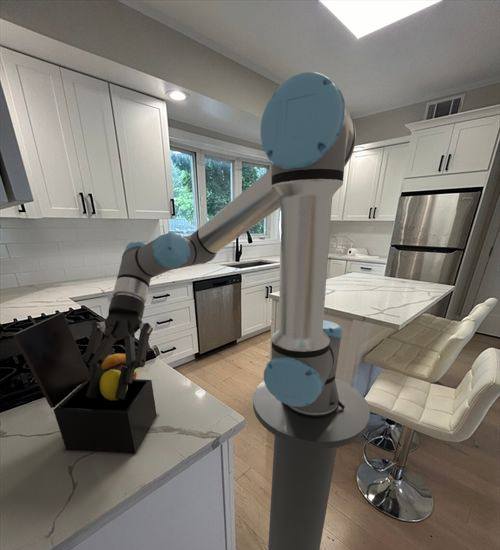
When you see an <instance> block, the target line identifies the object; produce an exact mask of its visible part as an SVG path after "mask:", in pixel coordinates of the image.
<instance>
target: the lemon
mask: <svg viewBox="0 0 500 550" xmlns="http://www.w3.org/2000/svg"><path fill="white" fill-rule="evenodd" d="M120 373H121V372H120V371H118V370H112V369H110V370H109V371H107V372H105V373H104V374H103V375H102V377H101V379H100V391H101V393H102V395H103V396H104V397H105V398H106V399H108V400H111V401H118V400H119V399H117V398H115V395H116V391H117V387H118V382H119V378H120ZM127 389H128V386H127ZM126 392H127V391H126Z"/></svg>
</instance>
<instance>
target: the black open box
mask: <svg viewBox="0 0 500 550" xmlns="http://www.w3.org/2000/svg"><path fill="white" fill-rule="evenodd" d="M89 383H90V382H89V381H87V379H86V380H85V381H84V382H83V383H81V384H80V385H79V386H78V387H77V388H76V389H75V390H74V391H72V392H71V393H70V394H69V395H68V396H67V397H66V398H65V399H63V400H62V401H61V402H60V403H59V404H58V405H57V406H55V407H54V408H53V413H54V416H55V420H56V422H57V426H58V429H59V432H60V434H61V438H62V441H63V444H64V448H65V450H66V451H80V452H81V451H83V452H97V453H98V452H101V453H116V454H117V453H119V454H136V453H137V451H138V450H139V448H140V446H141V444H142V443H143V441H144V439H145V438H146V435H147V434H148V432H149V430H150V428H151V427H152V425H153V423H154V421H155V420H156V417H157V416H158V414H157V407H156V402H155V401H156V400H155V395H154V388H153V387H154V386H153V381H152V379H140V378H135V379H133V381H132V383H131V384H128V389H127V392H126V395H125V400H120V399H119V400H118V401H111V400H108V399H106V398H105V397H104V396H103V395H102V393H101V391H100V387H99V391H98V395H97V399H93V398H89V397H86V394H87V390H88V386H89Z"/></svg>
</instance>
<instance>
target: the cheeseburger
mask: <svg viewBox="0 0 500 550" xmlns="http://www.w3.org/2000/svg"><path fill="white" fill-rule="evenodd" d="M125 364H126V355H125V353H113V354H110V355H109V354H108V355H107V357H106V359H105V360H104V362H103V364H102V366H101V367H102V369H104V371H103V374H104V373H105V372H107V371H109V370H110V369H112V370H118V371H120V372H121V369H122V367H126V368H127V366H125ZM137 373H138V368H136V369H135V371H134V376H133V379H137Z"/></svg>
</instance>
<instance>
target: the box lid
mask: <svg viewBox="0 0 500 550" xmlns="http://www.w3.org/2000/svg"><path fill="white" fill-rule="evenodd" d="M12 337H13V339H14V341H15V343H16V345H17V347H18V349H19V350H20V353H21V354H22V356H23V358H24V360H25V362H26V363H27V366H28V367H29V369H30V371H31V373H32V375H33V377H34V379H35V381H36V383H37V385H38V387H39V388H40V390H41V393H42V394H43V396H44V398H45V400H46V401H47V403H48V405H49V407H50V408H51V409H55V408H56V407H57V406H58V405H59V404H60V403H61V402H63V401H64V400H65V399H66V398H67V397H68V396H69V395H70V394H72V393H73V392H74V391H75V390H76V389H77V388H78V387H79V386H81V385H82V384H83V383H84V382H85V381H86V380H87V377H88V374H89V368H88V367H87V364H86V363H84V362H83V357H84V356H83V355H82V353H81V351H80V348H79V346H78V344H77V341H76V339H75V337H74V334H73V332H72V331H71V328H70V326H69V323H68V321H67V319H66V316H65V313H64V312H60V313H57V314H55V315H53V316H50V317H49V318H48V317H47V318H46V319H44V320H42V321H39V322H37V323H35V324H33V325H31V326H28V327H26V328H24V329H22V330H19V331H18V332H15V333H13V334H12Z"/></svg>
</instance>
